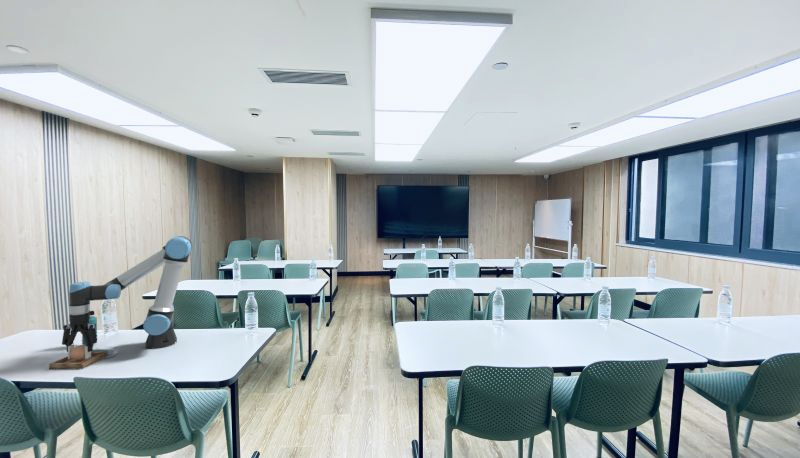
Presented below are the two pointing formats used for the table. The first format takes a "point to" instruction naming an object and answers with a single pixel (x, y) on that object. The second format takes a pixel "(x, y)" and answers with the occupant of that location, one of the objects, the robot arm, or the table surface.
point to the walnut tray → (77, 361)
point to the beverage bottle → (92, 321)
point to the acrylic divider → (109, 351)
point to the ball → (78, 352)
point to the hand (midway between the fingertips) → (79, 357)
